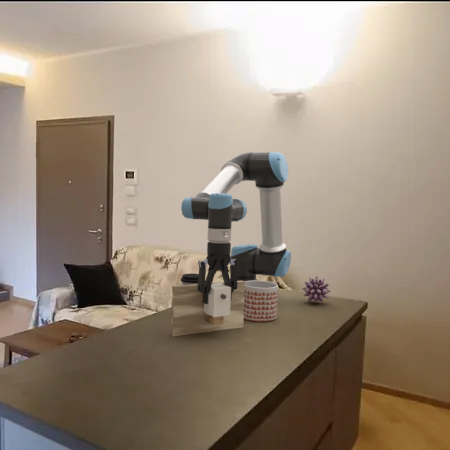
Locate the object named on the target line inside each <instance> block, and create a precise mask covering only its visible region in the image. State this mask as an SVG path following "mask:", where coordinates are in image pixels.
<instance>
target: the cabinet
mask: <svg viewBox="0 0 450 450" xmlns="http://www.w3.org/2000/svg"><path fill="white" fill-rule="evenodd" d="M216 283H217V282H216ZM209 294H211V314H210V315H211V316H212V317H219V316H227V315H230V303H231V287H229V286H226V285H224V284H222V283H217V284H212V285H211V288H210V291H209ZM204 312H205V304H204Z"/></svg>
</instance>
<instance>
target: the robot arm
mask: <svg viewBox="0 0 450 450" xmlns="http://www.w3.org/2000/svg"><path fill="white" fill-rule="evenodd" d="M220 169H221V170H220V171H219V173H218V174H217V175H216V176H215V177H214V178H213V179H212V180H210V182H209V183H208V184H207V185H206V186H205V187H203V189H202V190H201V191H200V192H199V193H198V194H197V195H196V196H195V197H193V196H190V197H185V198H184V199H183V200H182V202H181V207H180V208H181V213H182V216H183V217H184V219H189V220H190V219H192V220H203V221H205V220H206V221H207V225H208V226H207V240H208V242H207V245H206V247H207V249H206V254H207V256H206V257H205V259H204V260H198V274H199V277H198V288H197V290H198V291H199V292H201V293H203V303H204V304H205V313H206V314H208V315H210V314H211V294H209V291H210V288H211V285H212V283H214V282H213V281H214V278H215V275H216V274H217V272H218V271H220V272H221V275H222V280H223V282H224V284H225V285H226V286H229V287H231V300H232V293H233V292H234V290H236V289H237V281H244V282H245V281H252V280H257V275H259V276H267V277H268V276H269V277H274V278H276V277H278V278H279V277H280V278H283V277H285V276H286V275H287V274H288V272H289V269H290V265H291V260H292V253H291V250H288V249H287V245H286V243H284V242H283V226H282V224H283V223H282V202H281V201H282V199H281V198H282V197H281V189H282V188H283V186H284V185H285V182H287V180H288V179H289V165H288V162H287V158H286V156H285V155H284V154H283V153H282V152H275V151H274V152H273V151H262V152H261V151H260V152H259V151H257V152H256V151H255V152H253V151H251V152H250V151H246V152H244V153H240V154H237V155H236V156H234V157H232V158H230V159H229V160H227V161H226V162H225V163H224V164H223V165H222V167H221V168H220ZM244 181H247V182H248V181H251V182H255V184H254V185H255V187H256V188H257V189H258V190H259V205H260V206H259V207H260V224H261V225H260V226H261V241H262V242H261V244H260V245H259V246H258V244H255V243H251V244H250V243H249V244H248V243H247V244H239V245H235V246H233V247H231V246H232V243H231V242H230V241H231V240H232V223H233V222H239V221H241V220H243V219H245V217H246V215H247V211H248V209H247V208H248V207H247V205H246V203H245V202H244V201H243V200H242V199H238V198H233V195H232V194H230V193H229V191H230V190H232V188H233V187H234V186H235V185H238V184H240V183H241V182H244ZM207 265H208V266H207ZM228 266H229V268H228ZM207 267H208V268H207ZM207 269H208V270H207ZM229 271H230V272H229ZM206 273H207V274H206Z"/></svg>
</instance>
